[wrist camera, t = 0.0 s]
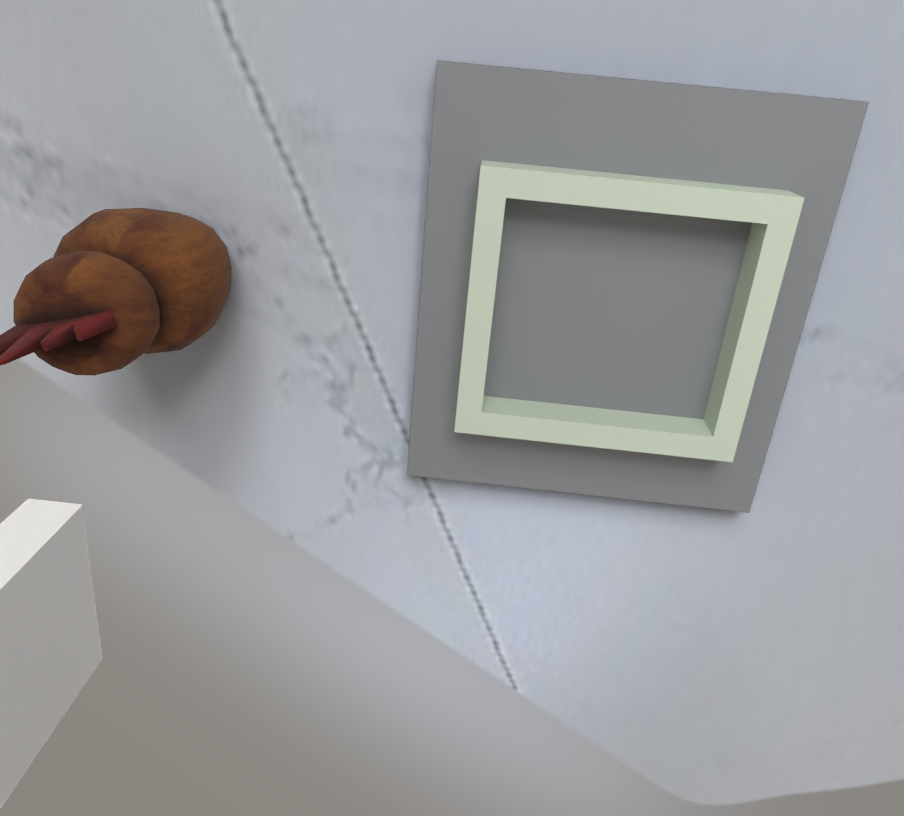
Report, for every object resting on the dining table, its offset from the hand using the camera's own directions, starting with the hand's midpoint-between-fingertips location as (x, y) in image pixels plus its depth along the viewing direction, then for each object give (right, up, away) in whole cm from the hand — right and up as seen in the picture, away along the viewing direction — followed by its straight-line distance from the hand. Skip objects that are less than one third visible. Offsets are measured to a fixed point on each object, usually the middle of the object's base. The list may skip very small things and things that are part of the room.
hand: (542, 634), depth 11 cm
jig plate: (+6, +8, +26) cm, 29 cm away
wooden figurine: (-15, +11, +27) cm, 33 cm away
